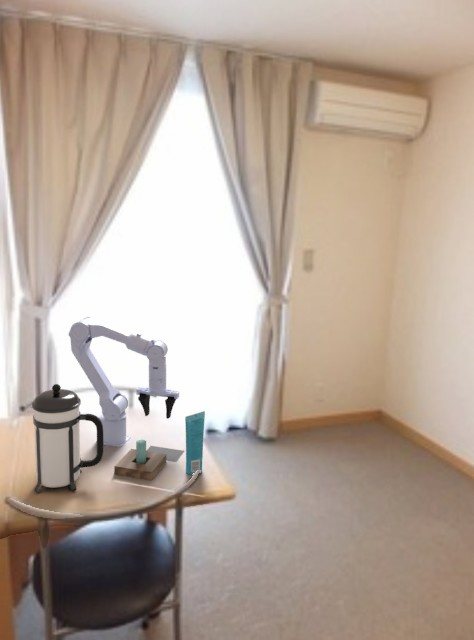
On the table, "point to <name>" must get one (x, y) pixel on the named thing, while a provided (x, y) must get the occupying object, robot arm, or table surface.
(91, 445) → the table surface
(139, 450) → the peg
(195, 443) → the teal shampoo bottle
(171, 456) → the mat
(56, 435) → the coffee press
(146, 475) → the hole block
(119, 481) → the table surface
